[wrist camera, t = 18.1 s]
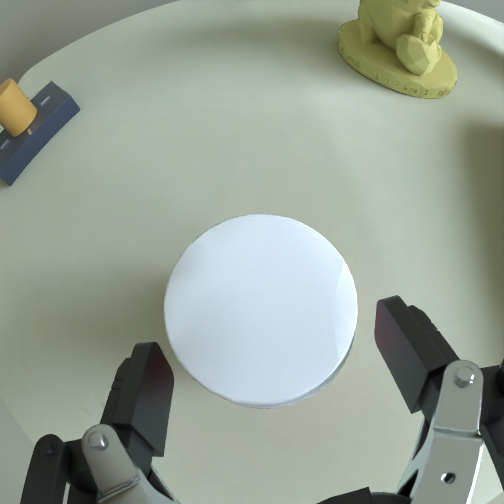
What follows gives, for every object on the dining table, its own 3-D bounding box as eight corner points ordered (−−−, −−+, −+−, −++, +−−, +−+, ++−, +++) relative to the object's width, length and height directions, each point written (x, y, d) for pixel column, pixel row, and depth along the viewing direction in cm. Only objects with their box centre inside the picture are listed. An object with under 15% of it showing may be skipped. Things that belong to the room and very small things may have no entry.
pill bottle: (206, 301, 18) (114, 237, 8) (298, 265, 18) (320, 157, 8) (241, 395, 16) (184, 462, 5) (337, 358, 16) (423, 370, 6)
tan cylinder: (41, 113, 24) (13, 79, 18) (15, 141, 23) (-16, 110, 17) (32, 104, 25) (8, 74, 19) (9, 130, 24) (-18, 102, 18)
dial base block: (10, 186, 24) (-4, 175, 21) (0, 156, 26) (-11, 146, 24) (80, 109, 26) (70, 94, 23) (59, 92, 28) (50, 80, 26)
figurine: (441, 120, 21) (498, -3, 7) (313, 56, 25) (316, -69, 11) (459, 67, 24) (492, -18, 10) (362, 20, 28) (373, -68, 14)
